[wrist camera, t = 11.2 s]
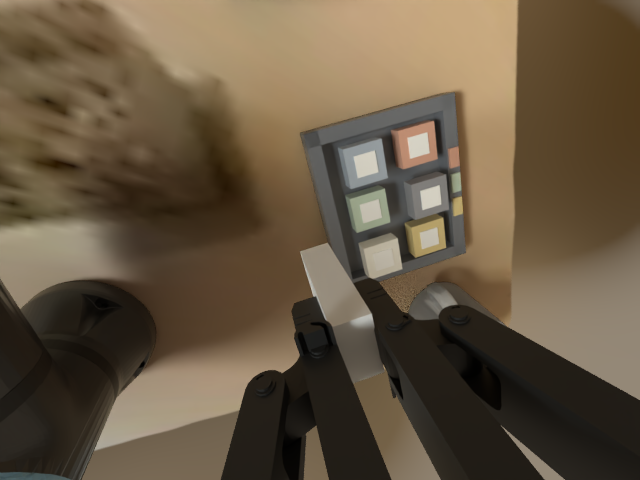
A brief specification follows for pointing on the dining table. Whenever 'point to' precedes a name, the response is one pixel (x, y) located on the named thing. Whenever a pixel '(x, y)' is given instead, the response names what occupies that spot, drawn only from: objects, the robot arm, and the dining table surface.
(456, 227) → the keypad board
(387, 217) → the key sage
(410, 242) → the key ochre
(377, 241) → the key cream
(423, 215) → the key charcoal
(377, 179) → the key slate
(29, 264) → the dining table surface
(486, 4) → the dining table surface
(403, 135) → the key terracotta
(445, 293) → the coffee mug
